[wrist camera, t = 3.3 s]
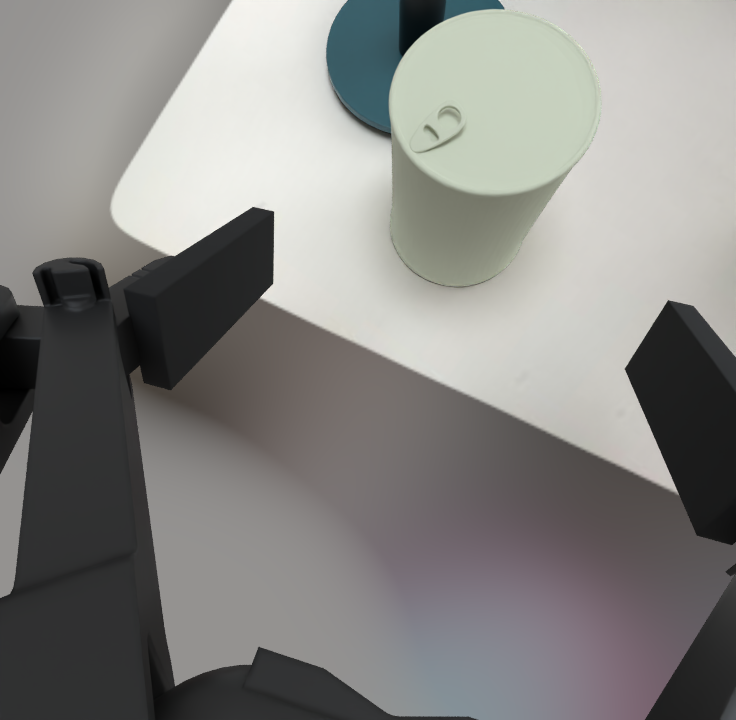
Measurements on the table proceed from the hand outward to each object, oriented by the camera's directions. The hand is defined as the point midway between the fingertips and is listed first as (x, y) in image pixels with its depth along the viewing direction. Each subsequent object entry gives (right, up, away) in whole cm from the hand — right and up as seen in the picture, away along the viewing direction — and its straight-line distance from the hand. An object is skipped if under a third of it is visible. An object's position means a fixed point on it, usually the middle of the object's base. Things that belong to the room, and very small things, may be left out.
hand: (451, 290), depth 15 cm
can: (+3, +7, +15) cm, 17 cm away
